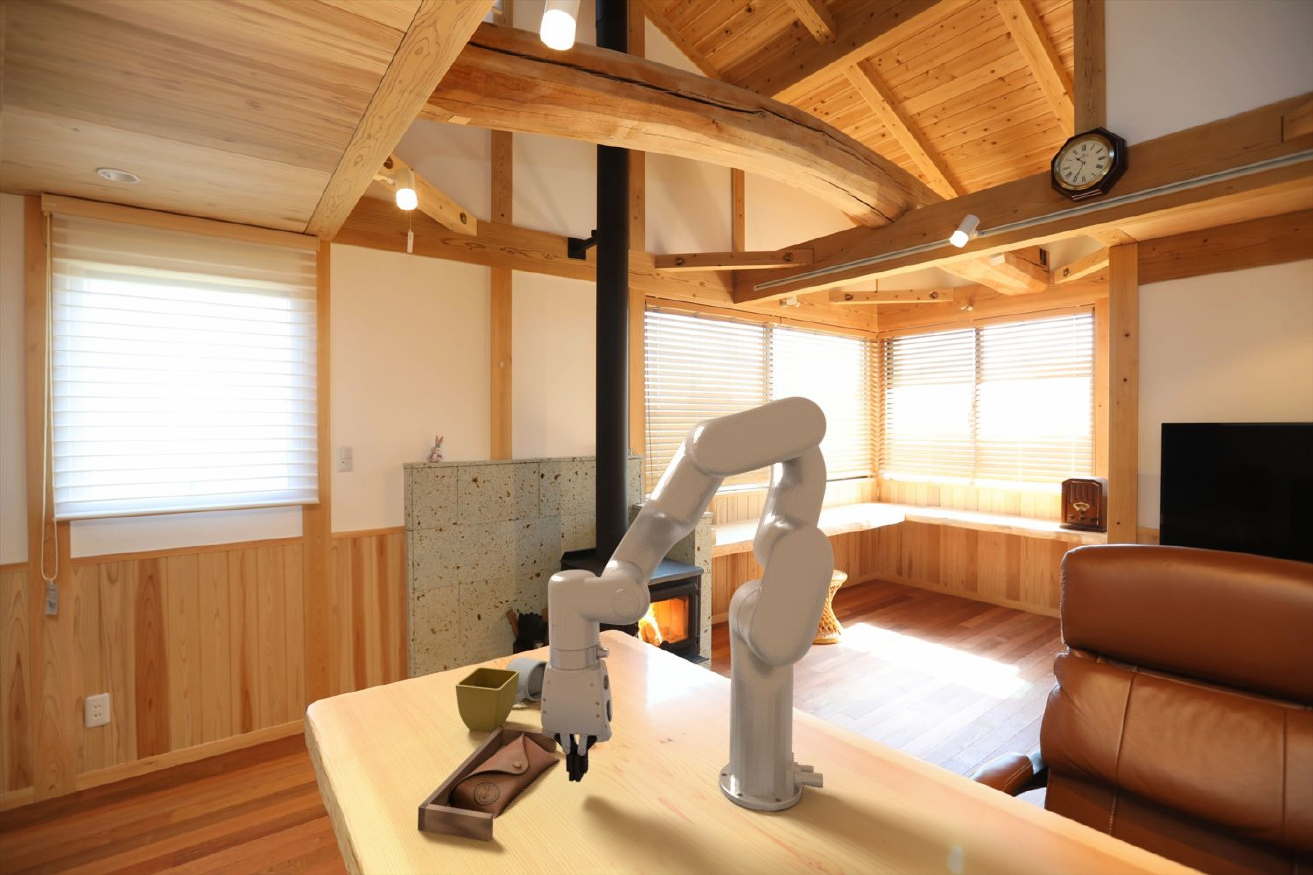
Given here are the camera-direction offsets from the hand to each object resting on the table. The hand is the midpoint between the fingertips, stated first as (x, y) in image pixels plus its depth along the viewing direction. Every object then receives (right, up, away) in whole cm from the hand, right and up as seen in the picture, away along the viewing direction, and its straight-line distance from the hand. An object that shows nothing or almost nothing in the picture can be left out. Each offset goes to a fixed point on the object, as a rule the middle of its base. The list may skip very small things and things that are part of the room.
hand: (577, 776), depth 89 cm
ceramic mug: (-16, -3, +33) cm, 37 cm away
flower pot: (-19, -3, +21) cm, 28 cm away
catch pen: (-13, -2, +2) cm, 13 cm away
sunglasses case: (-11, -3, +3) cm, 12 cm away
